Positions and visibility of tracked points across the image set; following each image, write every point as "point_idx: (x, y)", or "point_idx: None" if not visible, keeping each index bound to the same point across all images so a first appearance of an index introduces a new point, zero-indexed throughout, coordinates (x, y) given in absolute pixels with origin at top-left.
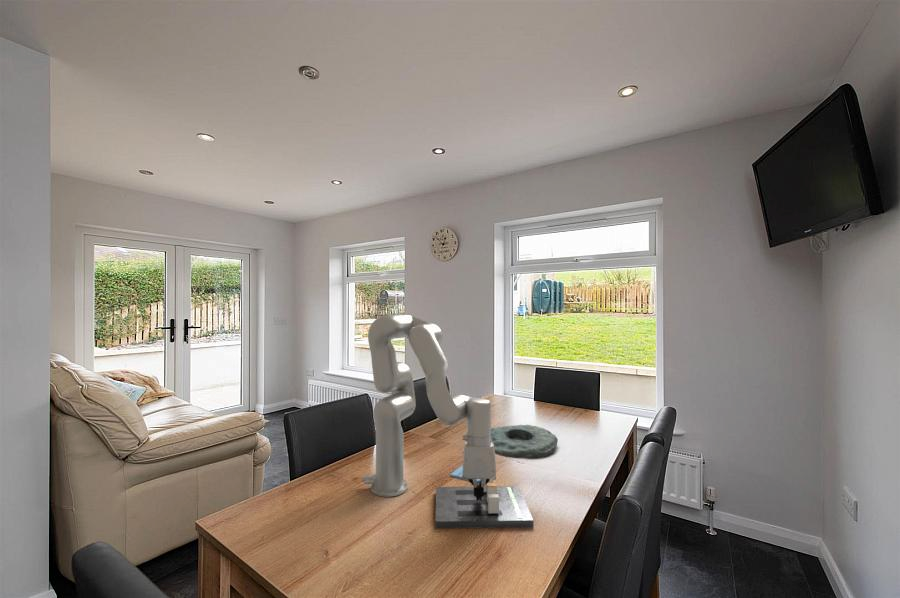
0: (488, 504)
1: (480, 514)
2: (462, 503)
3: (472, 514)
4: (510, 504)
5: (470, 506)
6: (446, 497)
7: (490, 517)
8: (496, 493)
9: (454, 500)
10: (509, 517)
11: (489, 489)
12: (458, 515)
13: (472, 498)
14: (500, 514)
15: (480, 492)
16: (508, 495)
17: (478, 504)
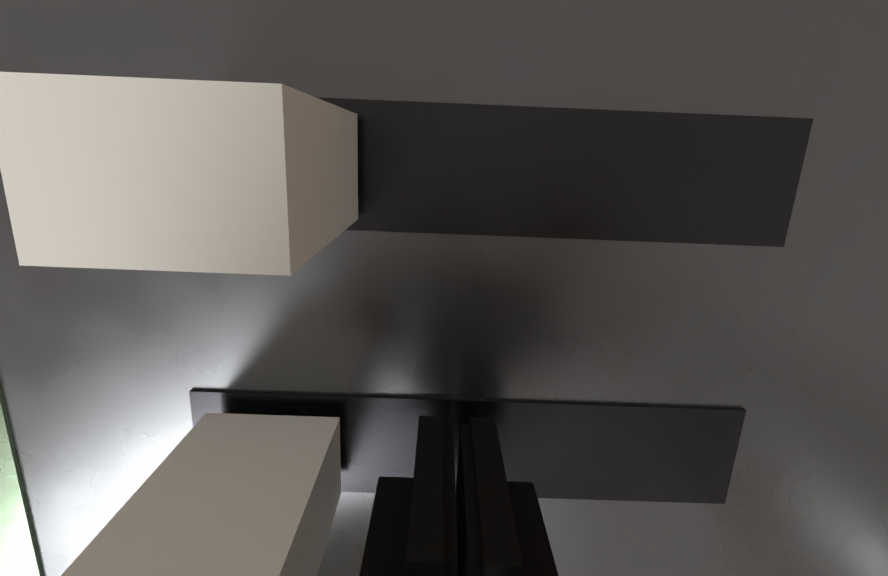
0: (330, 132)
1: (479, 132)
2: (667, 426)
3: (596, 136)
4: (34, 372)
5: (576, 355)
6: (824, 567)
7: (342, 46)
8: (145, 491)
9: (747, 500)
10: (51, 22)
11: (243, 550)
12: (803, 125)
13: None
14: None
15: (436, 494)
16: (58, 571)
17: (462, 396)
